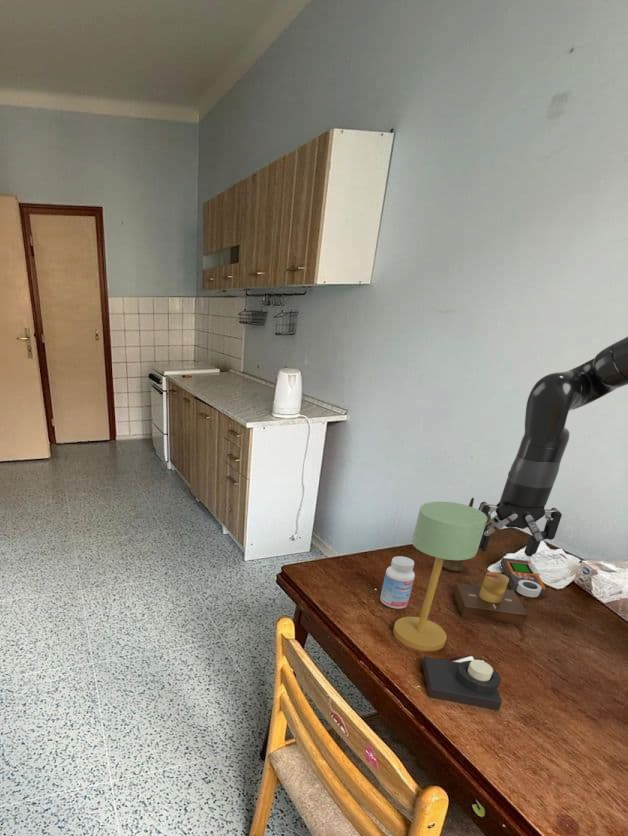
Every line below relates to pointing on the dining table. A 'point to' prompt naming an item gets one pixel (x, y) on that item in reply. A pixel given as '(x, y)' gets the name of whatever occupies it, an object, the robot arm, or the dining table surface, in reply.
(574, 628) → the dining table surface
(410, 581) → the pill bottle
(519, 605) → the dimmer
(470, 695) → the switch base
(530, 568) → the electronic device
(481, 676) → the lamp switch
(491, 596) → the dimmer knob
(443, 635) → the table lamp
